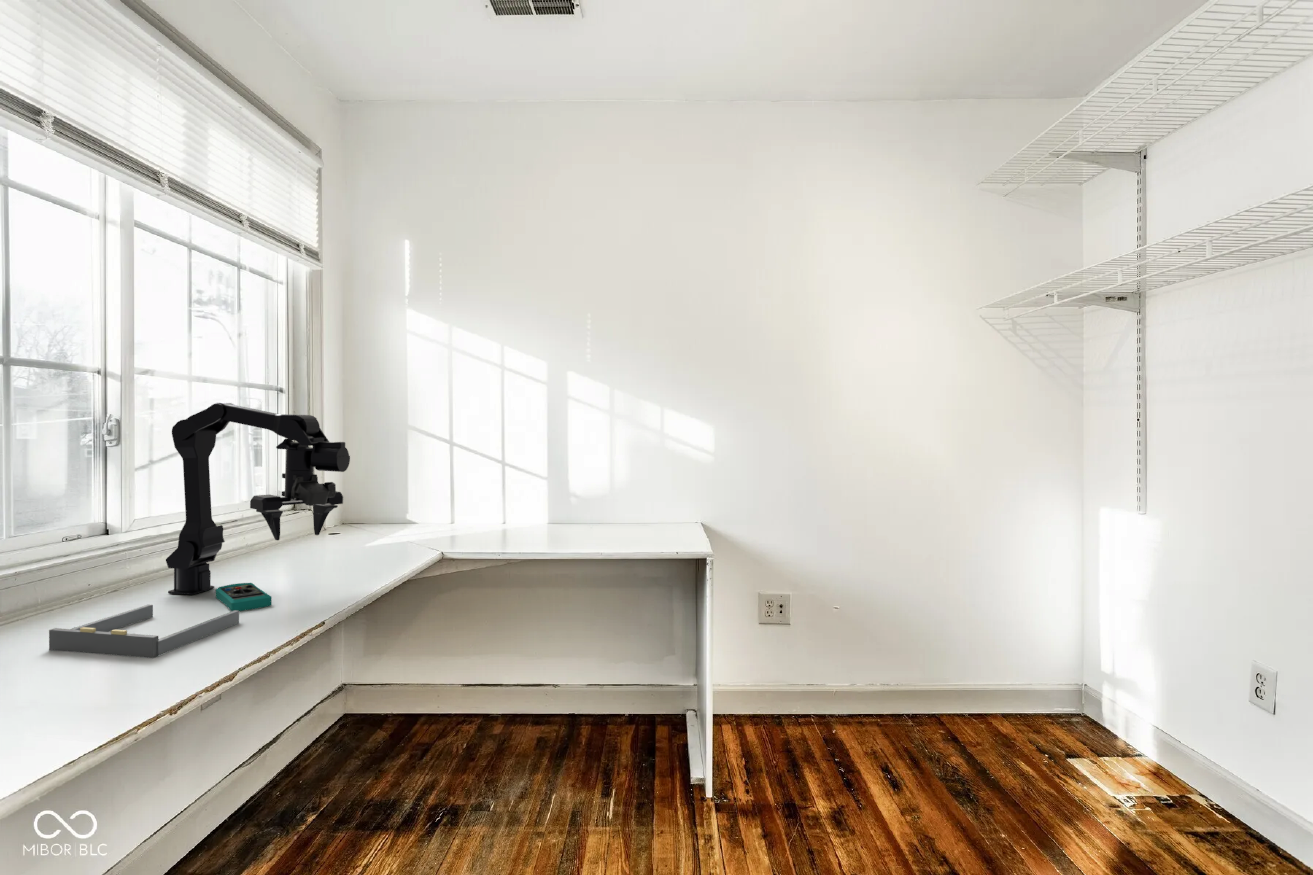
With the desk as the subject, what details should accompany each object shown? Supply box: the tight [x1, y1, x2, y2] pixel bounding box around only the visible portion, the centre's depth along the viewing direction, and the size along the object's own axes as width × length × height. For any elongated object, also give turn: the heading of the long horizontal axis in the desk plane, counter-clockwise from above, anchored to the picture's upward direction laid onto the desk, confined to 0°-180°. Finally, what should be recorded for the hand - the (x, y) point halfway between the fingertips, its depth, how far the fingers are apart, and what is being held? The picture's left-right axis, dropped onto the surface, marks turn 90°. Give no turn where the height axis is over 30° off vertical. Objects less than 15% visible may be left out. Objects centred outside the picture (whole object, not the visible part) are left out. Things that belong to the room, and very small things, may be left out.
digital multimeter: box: [215, 582, 273, 612], centre depth 146 cm, size 8×15×3 cm, turn 45°
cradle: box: [48, 604, 240, 659], centre depth 123 cm, size 20×20×4 cm
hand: (297, 537), depth 152 cm, fingers open, 9 cm apart
